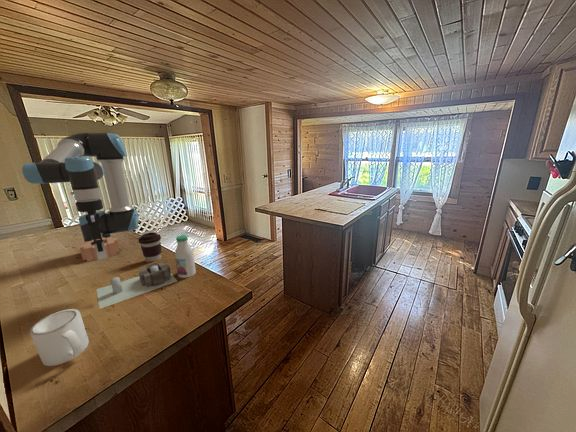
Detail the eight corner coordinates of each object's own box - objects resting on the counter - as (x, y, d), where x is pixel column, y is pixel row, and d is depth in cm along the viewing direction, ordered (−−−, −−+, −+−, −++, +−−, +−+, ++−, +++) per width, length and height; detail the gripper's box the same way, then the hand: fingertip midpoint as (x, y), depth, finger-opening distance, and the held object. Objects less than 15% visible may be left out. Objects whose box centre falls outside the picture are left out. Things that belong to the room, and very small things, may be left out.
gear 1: (83, 253, 92) (80, 241, 90) (117, 246, 99) (115, 235, 97) (82, 263, 83) (79, 250, 82) (120, 254, 90) (118, 242, 89)
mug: (103, 345, 70) (95, 317, 67) (61, 375, 61) (49, 343, 58) (76, 333, 75) (67, 305, 71) (34, 358, 65) (21, 328, 62)
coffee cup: (155, 266, 116) (150, 239, 111) (138, 264, 118) (132, 237, 113) (168, 257, 125) (164, 231, 121) (153, 255, 127) (148, 230, 123)
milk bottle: (192, 270, 113) (187, 232, 107) (198, 276, 107) (193, 236, 101) (175, 276, 107) (169, 236, 102) (182, 282, 102) (175, 241, 96)
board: (97, 292, 95) (92, 276, 93) (167, 270, 112) (164, 256, 110) (100, 312, 84) (95, 294, 82) (177, 284, 101) (175, 269, 99)
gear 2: (138, 278, 102) (136, 268, 101) (166, 269, 110) (164, 260, 108) (144, 289, 94) (142, 279, 93) (173, 279, 102) (172, 269, 100)
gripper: (75, 196, 91) (89, 247, 97) (73, 206, 74) (90, 267, 80) (99, 194, 96) (111, 242, 102) (103, 203, 79) (116, 260, 84)
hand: (101, 253), depth 91 cm, fingers closed on gear 1, 11 cm apart
